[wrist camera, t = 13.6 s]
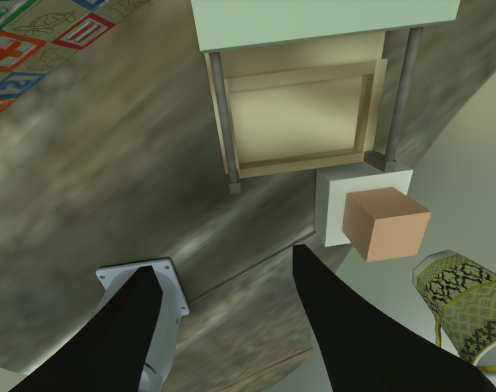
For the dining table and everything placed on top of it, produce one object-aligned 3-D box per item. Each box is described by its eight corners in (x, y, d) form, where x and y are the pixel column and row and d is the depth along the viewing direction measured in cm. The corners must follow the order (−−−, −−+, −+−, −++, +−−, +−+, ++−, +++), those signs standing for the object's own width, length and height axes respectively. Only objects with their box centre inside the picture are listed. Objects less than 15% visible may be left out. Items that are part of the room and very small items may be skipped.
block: (383, 224, 20) (416, 254, 17) (341, 230, 20) (366, 262, 17) (392, 186, 18) (431, 211, 15) (346, 193, 18) (375, 219, 15)
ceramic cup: (440, 228, 25) (555, 307, 17) (490, 252, 28) (611, 330, 19) (368, 298, 30) (426, 387, 22) (416, 312, 33) (485, 396, 24)
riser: (376, 219, 24) (395, 236, 21) (314, 228, 24) (325, 246, 21) (389, 158, 20) (413, 169, 18) (316, 168, 20) (330, 181, 18)
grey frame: (364, 153, 20) (399, 171, 16) (225, 172, 20) (225, 196, 16) (395, -51, 14) (466, -107, 10) (190, -28, 13) (175, -76, 9)
